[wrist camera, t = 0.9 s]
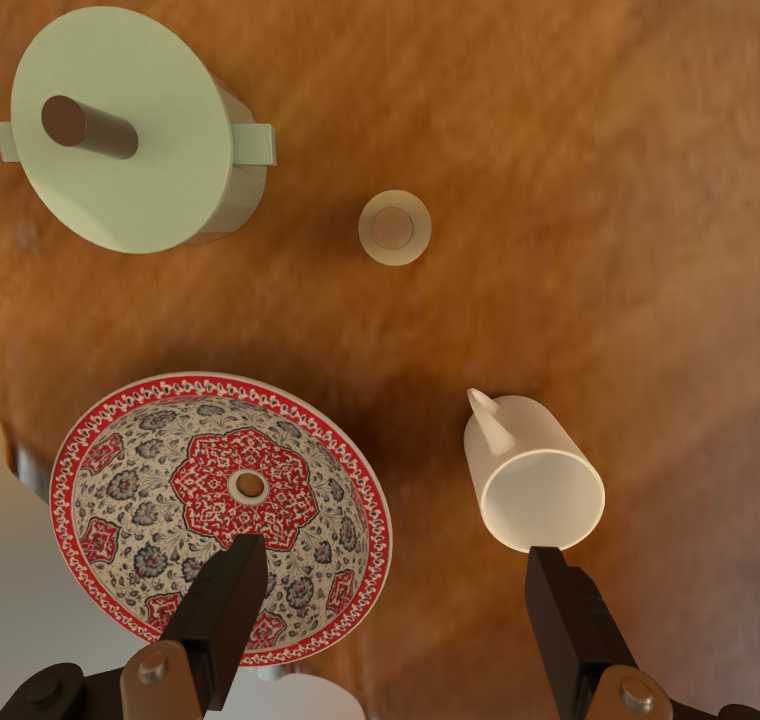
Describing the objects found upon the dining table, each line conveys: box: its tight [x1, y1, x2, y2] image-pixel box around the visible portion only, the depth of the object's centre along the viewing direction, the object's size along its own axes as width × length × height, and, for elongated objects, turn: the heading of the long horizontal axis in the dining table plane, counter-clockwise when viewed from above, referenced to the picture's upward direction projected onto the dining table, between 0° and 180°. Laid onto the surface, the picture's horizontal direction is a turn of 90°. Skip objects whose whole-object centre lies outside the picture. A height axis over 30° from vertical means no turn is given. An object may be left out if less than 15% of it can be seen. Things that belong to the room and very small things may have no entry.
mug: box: [464, 388, 605, 553], centre depth 35 cm, size 9×12×11 cm
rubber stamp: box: [358, 190, 431, 266], centre depth 31 cm, size 5×5×12 cm
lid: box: [11, 6, 233, 254], centre depth 25 cm, size 14×14×6 cm
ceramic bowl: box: [49, 371, 393, 667], centre depth 40 cm, size 29×29×8 cm
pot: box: [0, 70, 276, 244], centre depth 31 cm, size 13×18×8 cm
